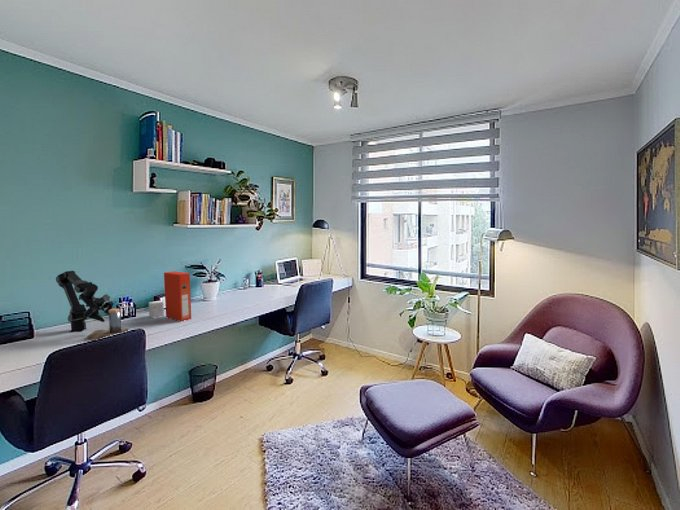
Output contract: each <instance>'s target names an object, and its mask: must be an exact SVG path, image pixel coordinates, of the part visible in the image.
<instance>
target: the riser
mask: <svg viewBox="0 0 680 510" xmlns="http://www.w3.org/2000/svg"><path fill="white" fill-rule="evenodd" d="M121 329H122V331H121V332H119V333H122V332H125V331H128V330H130V329H129V328H121ZM114 334H117V333H113V334H112V333H110V329H97V330H94V331H92V332H91V333H89V334H88V335H87V336H86V339H89V340H99V339H98V338H103V337H106V336H110V335H114Z"/></svg>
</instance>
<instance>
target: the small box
mask: <svg viewBox="0 0 680 510" xmlns="http://www.w3.org/2000/svg"><path fill="white" fill-rule="evenodd" d="M164 309H165V308H164V301H162V300H156V301H149V302H148V315H149V316H150V317H149V316H148V317H149V318H151V317H152V318H151V319H155V318H154V317H157V318H160V317H159V316H162V317H164V316H165V310H164Z"/></svg>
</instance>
